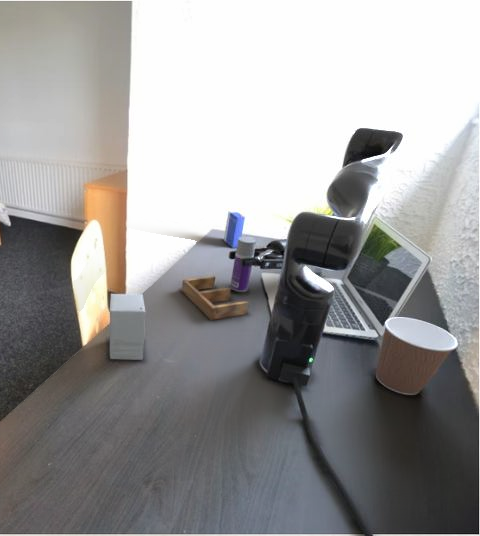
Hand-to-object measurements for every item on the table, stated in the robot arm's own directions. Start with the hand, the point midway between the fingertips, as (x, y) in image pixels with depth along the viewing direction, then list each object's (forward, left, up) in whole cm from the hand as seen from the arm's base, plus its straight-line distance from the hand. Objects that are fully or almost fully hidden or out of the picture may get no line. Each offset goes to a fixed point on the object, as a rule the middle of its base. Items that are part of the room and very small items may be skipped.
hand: (235, 259), depth 103 cm
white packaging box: (-38, +18, -10) cm, 43 cm away
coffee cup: (-25, -34, -10) cm, 43 cm away
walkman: (+38, +4, -10) cm, 40 cm away
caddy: (-8, +4, -10) cm, 14 cm away
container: (+2, -2, -10) cm, 10 cm away
